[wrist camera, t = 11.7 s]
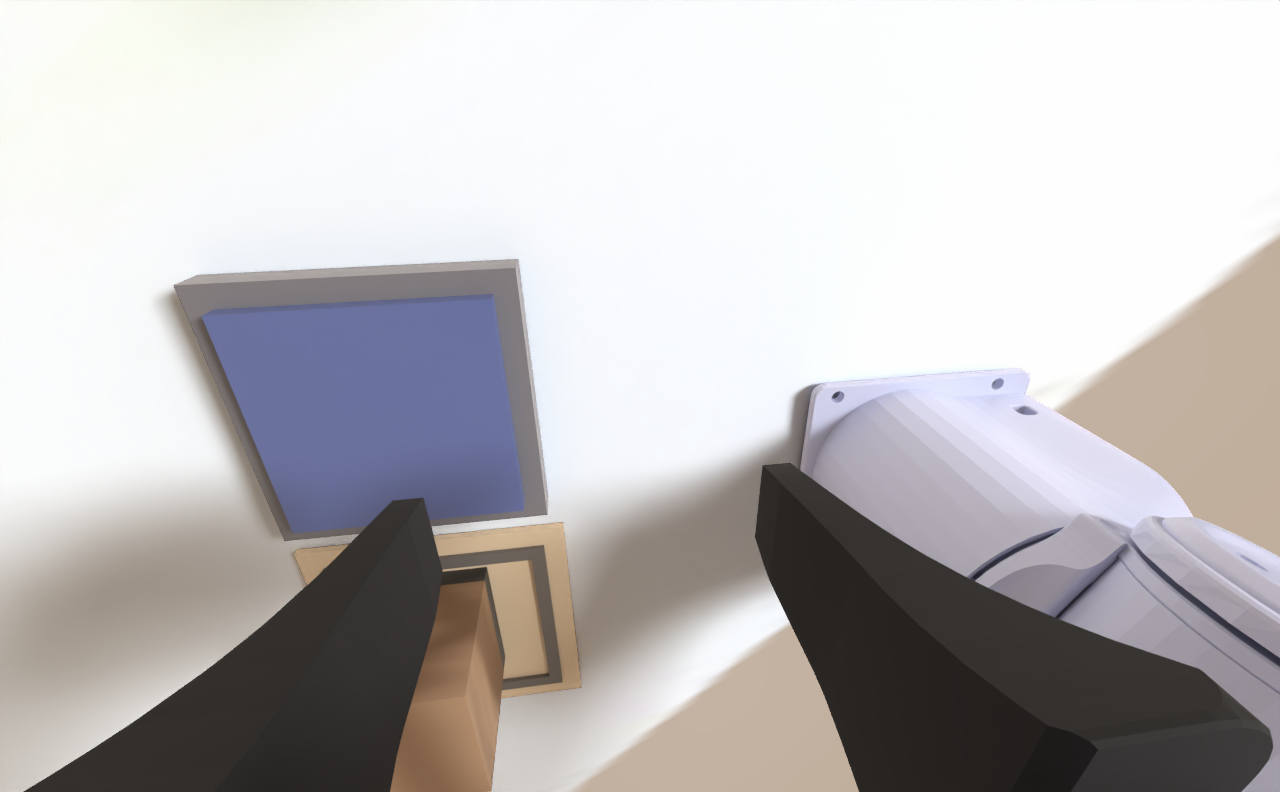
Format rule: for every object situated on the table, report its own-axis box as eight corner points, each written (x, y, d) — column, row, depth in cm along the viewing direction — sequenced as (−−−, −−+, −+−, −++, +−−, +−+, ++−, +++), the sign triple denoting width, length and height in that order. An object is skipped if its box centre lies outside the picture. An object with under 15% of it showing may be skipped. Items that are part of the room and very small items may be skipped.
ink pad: (518, 259, 18) (514, 272, 16) (547, 496, 23) (546, 524, 21) (198, 274, 17) (160, 291, 15) (298, 520, 21) (277, 552, 20)
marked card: (562, 522, 23) (563, 530, 23) (580, 682, 28) (581, 690, 28) (297, 549, 22) (291, 558, 22) (365, 710, 27) (362, 720, 27)
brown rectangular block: (486, 566, 23) (465, 696, 18) (505, 656, 26) (491, 791, 21) (392, 577, 23) (342, 712, 18) (421, 666, 26) (385, 807, 21)
